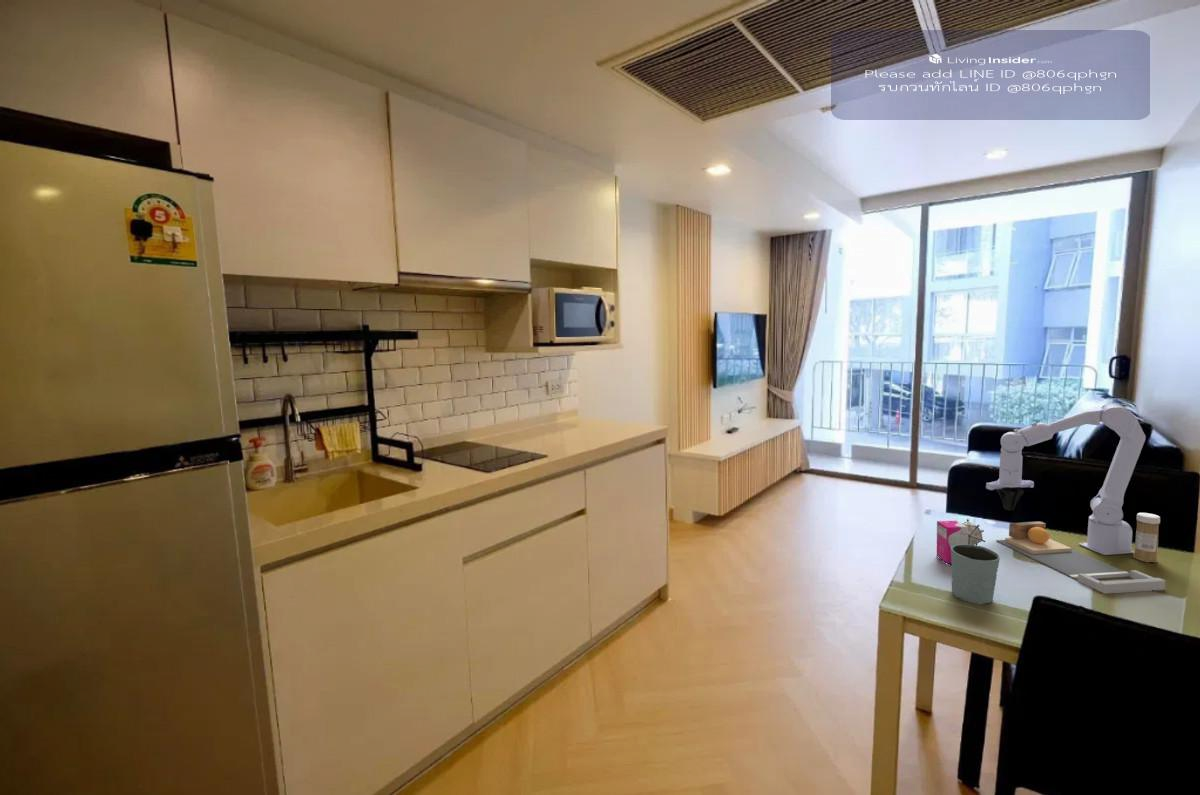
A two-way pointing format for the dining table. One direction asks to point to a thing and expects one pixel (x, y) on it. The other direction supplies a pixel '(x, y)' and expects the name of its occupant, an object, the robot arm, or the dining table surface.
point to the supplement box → (949, 538)
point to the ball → (1038, 535)
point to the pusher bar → (1023, 528)
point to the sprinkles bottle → (1147, 537)
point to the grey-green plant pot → (973, 572)
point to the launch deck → (1084, 567)
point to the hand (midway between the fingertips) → (1008, 509)
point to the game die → (973, 533)
